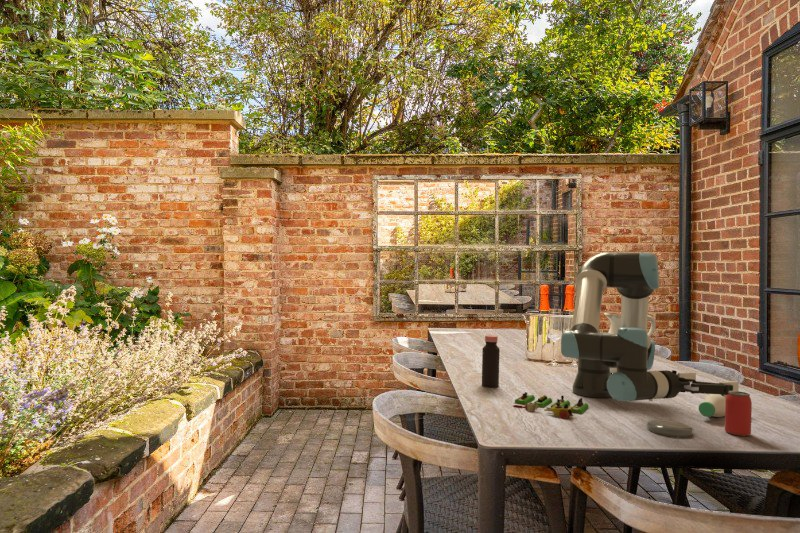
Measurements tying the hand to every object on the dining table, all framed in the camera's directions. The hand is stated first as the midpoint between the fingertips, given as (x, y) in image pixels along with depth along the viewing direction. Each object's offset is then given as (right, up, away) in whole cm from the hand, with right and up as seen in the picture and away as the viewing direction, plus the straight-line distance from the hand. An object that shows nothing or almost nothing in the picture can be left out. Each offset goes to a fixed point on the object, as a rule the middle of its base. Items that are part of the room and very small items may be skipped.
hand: (715, 381), depth 154 cm
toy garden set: (-41, -16, +28) cm, 52 cm away
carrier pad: (-11, -16, +5) cm, 20 cm away
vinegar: (-55, -15, +60) cm, 83 cm away
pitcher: (+15, -17, +94) cm, 97 cm away
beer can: (+9, -16, +4) cm, 19 cm away
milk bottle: (+22, -13, +29) cm, 39 cm away
